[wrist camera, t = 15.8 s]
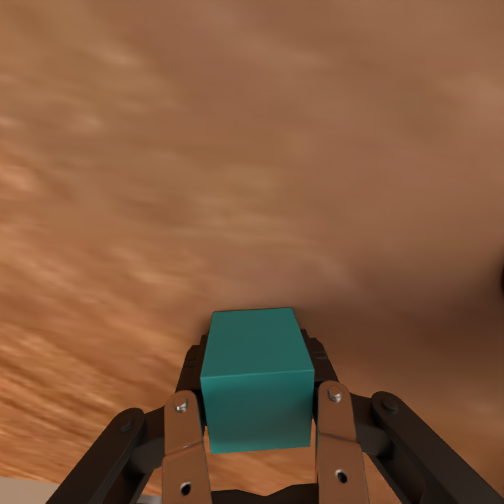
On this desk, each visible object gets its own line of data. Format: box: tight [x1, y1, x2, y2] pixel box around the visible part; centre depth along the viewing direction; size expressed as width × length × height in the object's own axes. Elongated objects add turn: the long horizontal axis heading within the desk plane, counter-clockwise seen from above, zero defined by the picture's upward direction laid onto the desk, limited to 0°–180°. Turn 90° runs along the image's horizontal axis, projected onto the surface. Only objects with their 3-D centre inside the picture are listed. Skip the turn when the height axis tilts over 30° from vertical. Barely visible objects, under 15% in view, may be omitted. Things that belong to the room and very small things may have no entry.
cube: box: [200, 308, 315, 454], centre depth 12 cm, size 4×4×4 cm
